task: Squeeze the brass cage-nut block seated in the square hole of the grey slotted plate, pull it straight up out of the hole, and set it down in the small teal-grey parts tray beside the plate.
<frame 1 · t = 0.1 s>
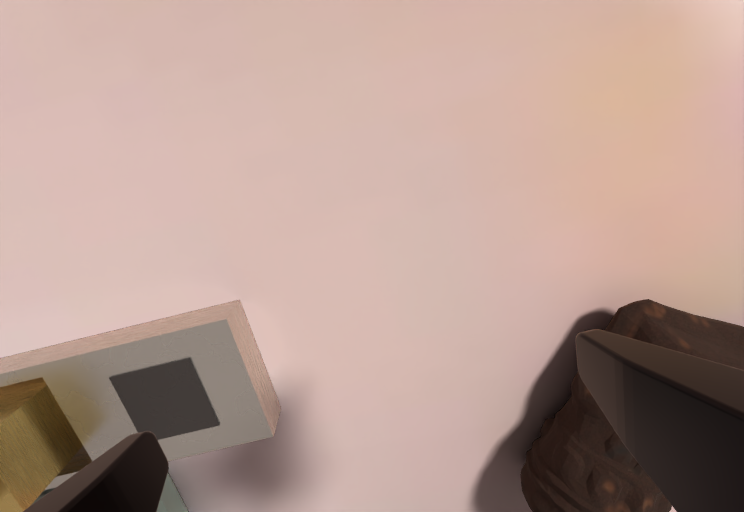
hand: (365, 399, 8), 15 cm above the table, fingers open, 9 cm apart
cage nut: (50, 406, 25), resting in grey slotted plate
pipe: (641, 396, 27), on the table
grey slotted plate: (79, 400, 24), on the table
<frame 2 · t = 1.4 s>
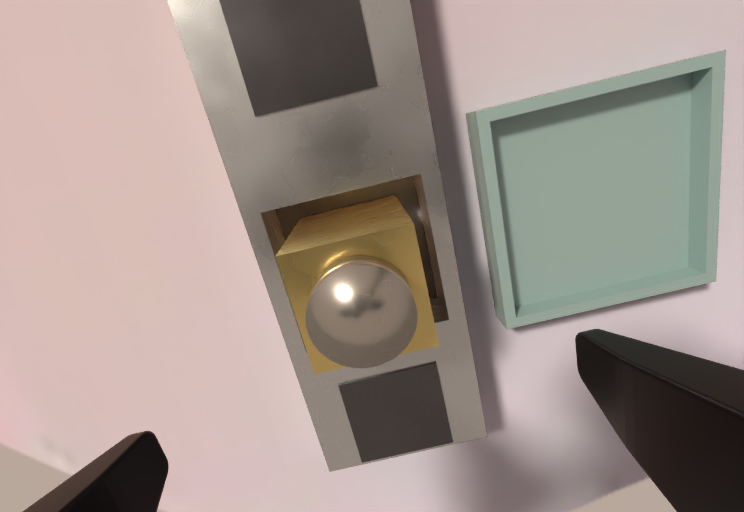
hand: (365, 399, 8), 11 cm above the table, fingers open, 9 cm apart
cage nut: (359, 251, 19), resting in grey slotted plate
parts tray: (585, 198, 18), on the table
grey slotted plate: (348, 211, 18), on the table
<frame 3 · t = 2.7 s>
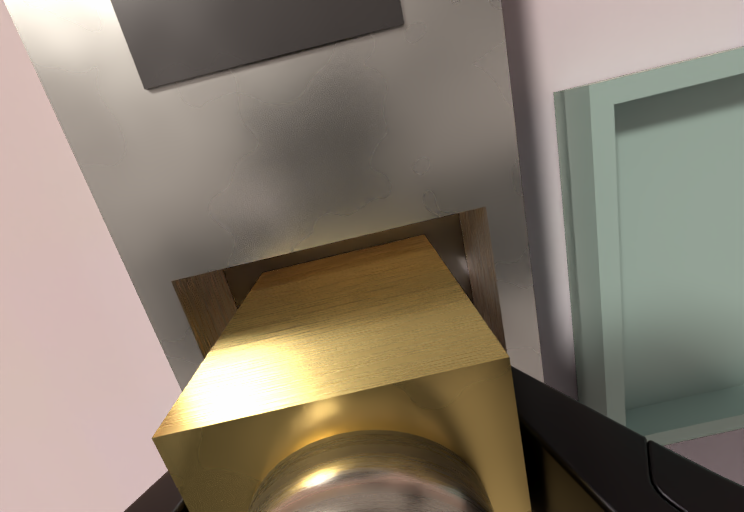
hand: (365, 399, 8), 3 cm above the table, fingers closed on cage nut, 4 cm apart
cage nut: (362, 326, 11), resting in grey slotted plate, touching gripper
grey slotted plate: (345, 262, 10), on the table
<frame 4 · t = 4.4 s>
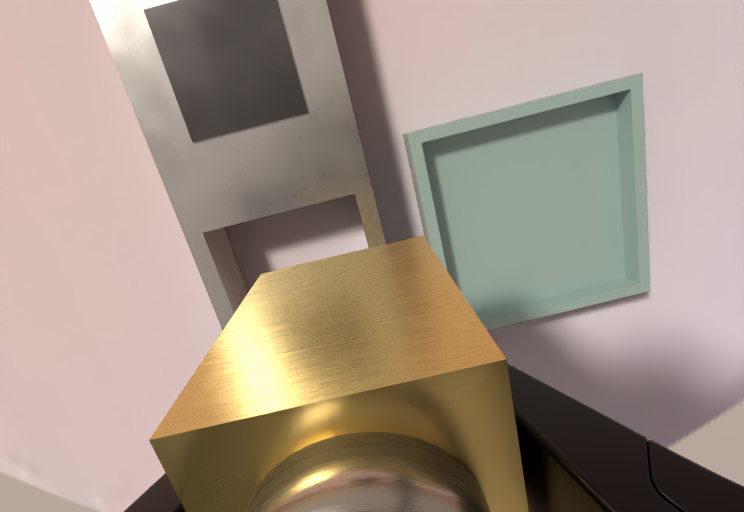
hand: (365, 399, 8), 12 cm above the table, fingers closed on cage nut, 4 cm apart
cage nut: (361, 327, 11), point 8 cm above the table, touching gripper
parts tray: (523, 212, 19), on the table
grey slotted plate: (295, 228, 19), on the table
when the fingers open (5 cm above the table, at t = 6.1 s): cage nut drops 2 cm, resting on parts tray.
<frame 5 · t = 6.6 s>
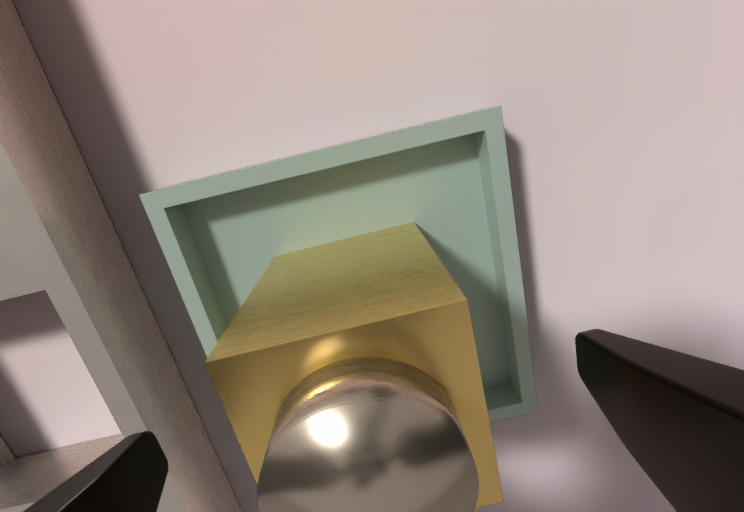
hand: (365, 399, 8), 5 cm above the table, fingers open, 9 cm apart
cage nut: (361, 302, 13), resting on parts tray
parts tray: (360, 296, 13), on the table
grey slotted plate: (28, 317, 13), on the table
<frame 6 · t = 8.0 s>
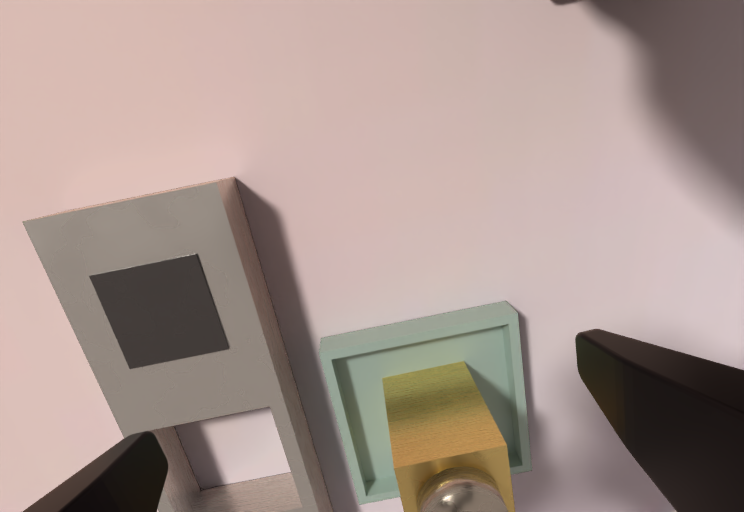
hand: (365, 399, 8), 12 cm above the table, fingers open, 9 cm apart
cage nut: (429, 403, 21), resting on parts tray
parts tray: (427, 397, 22), on the table
grey slotted plate: (227, 406, 21), on the table
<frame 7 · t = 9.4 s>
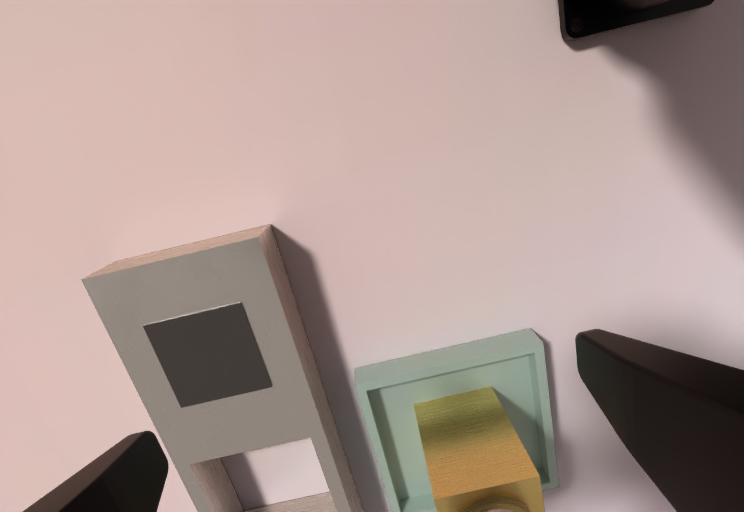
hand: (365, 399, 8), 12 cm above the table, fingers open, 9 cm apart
cage nut: (458, 426, 22), resting on parts tray
parts tray: (456, 420, 23), on the table
grey slotted plate: (267, 434, 23), on the table
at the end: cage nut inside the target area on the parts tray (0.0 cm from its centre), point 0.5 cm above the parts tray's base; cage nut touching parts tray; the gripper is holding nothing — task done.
